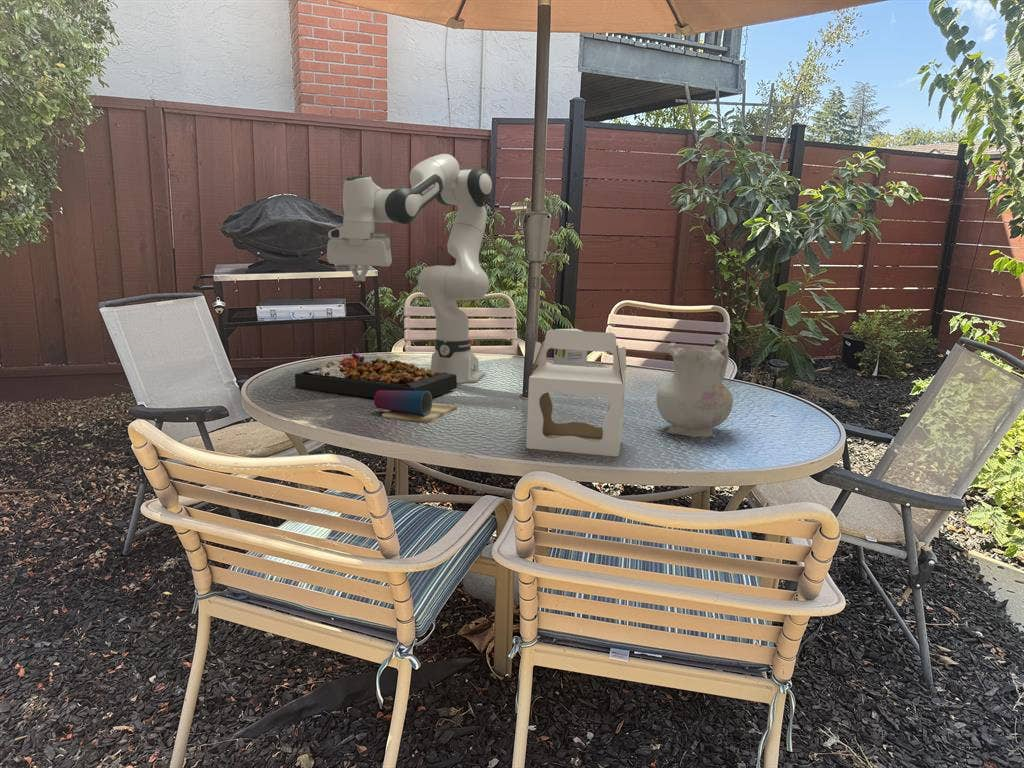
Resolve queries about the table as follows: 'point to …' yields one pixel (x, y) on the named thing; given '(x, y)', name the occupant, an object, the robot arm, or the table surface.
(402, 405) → the cup
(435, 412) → the wooden board
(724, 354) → the ceramic pitcher
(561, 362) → the supplement box
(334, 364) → the food platter
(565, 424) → the gable box
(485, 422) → the table surface
